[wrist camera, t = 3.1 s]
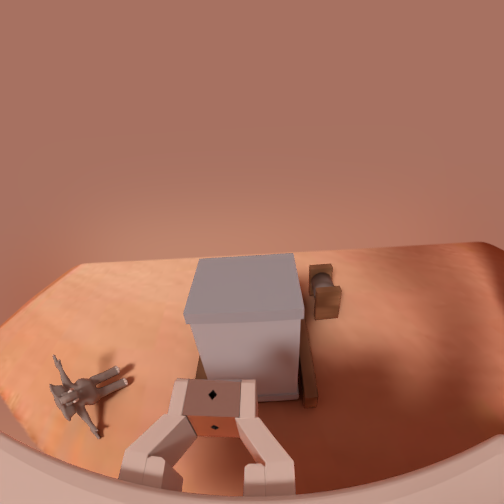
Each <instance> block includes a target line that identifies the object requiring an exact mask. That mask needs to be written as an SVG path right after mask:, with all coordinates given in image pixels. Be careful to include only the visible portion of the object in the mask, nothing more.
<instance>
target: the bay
mask: <svg viewBox="0 0 504 504" xmlns="http://www.w3.org/2000/svg"><path fill="white" fill-rule="evenodd" d="M332 270H333V267H332V265H331V264H320V265H310V266H309V295H314V297H315V307H314V317H315V320H320V319H330V318H338V314H339V306H340V299H341V288H340V286H334V285H333V283H332ZM299 369H300V377H301V386H302V394H303V403H304V408H310V407H316V406H317V401H318V392H317V386H316V380H315V373H314V367H313V361H312V356H311V350H310V344H309V338H308V333H307V327H306V322H305V316H304V319H301V324H300V346H299ZM195 379H200V380H208V378H207V376H206V373H205V370H204V367H203V364H202V361H201V358H200V356H199V361H198V367H197V373H196V378H195Z"/></svg>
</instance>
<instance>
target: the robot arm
mask: <svg viewBox="0 0 504 504" xmlns="http://www.w3.org/2000/svg"><path fill="white" fill-rule="evenodd" d="M197 436H208V437H234V438H240V439H241V440H242V442H243V443H244V445H245V446H246V448H247V450H248V451H249V453H250V454H251V456H252V457H253V459H254V460H255V462H256V463H257V464H248V465H246V466H245V471H244V492H243V496H220V495H206V494H196V493H187V492H182V485H183V478H182V476H181V475H180V474H179V473H177V472H176V471H175V470H174V469H173V468H172V467H173V466H174V465H175V464H176V463H177V462H178V460H179V459H180V458H181V457H182V456H183V454H184V453H185V452H186V451H187V449H188V448H189V447H190V446H191V444H192V443H193V442H194V441H195V440H196V438H197ZM0 504H504V435H503V434H498V435H495V436H493V437H491V438H489V439H487V440H485V441H483V442H481V443H479V444H477V445H475V446H473V447H471V448H469V449H467V450H465V451H463V452H461V453H458V454H456V455H454V456H451V457H449V458H447V459H444V460H442V461H439V462H437V463H434V464H431V465H429V466H426V467H423V468H420V469H417V470H414V471H411V472H408V473H405V474H402V475H398V476H395V477H391V478H388V479H384V480H380V481H376V482H372V483H368V484H363V485H359V486H354V487H348V488H343V489H337V490H331V491H324V492H316V493H308V494H297V495H296V490H295V473H294V461H293V460H292V459H291V457H290V456H289V455H288V454H287V452H286V451H285V450H284V449H283V447H282V446H281V445H280V444H279V442H278V441H277V440H276V439H275V437H274V436H273V435H272V433H271V432H270V431H269V429H268V428H267V427H266V426H265V424H264V423H263V422H262V420H261V419H260V418H259V417H258V397H257V386H256V379H248V380H242V379H233V380H200V379H181V378H177V379H176V381H175V383H174V387H173V392H172V396H171V400H170V405H169V410H168V414H163V415H162V416H161V417H160V418H159V419H158V420H157V421H156V422H155V423H154V424H153V425H152V426H151V427H150V428H148V429H147V430H146V431H145V432H144V433H143V434H142V435H141V436H140V437H139V438H138V439H137V440H136V441H135V442H133V443H132V444H131V445H130V446H129V447H128V448H127V449H126V450H125V453H124V457H123V461H122V465H121V469H120V473H119V478H118V479H116V478H112V477H108V476H105V475H102V474H98V473H95V472H92V471H89V470H86V469H83V468H80V467H77V466H75V465H72V464H69V463H67V462H64V461H62V460H59V459H57V458H54V457H52V456H50V455H47V454H45V453H43V452H41V451H38V450H36V449H34V448H32V447H30V446H28V445H26V444H24V443H22V442H20V441H18V440H16V439H14V438H13V437H11V436H9V435H7V434H5V433H3V432H2V431H0Z"/></svg>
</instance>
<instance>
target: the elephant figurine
mask: <svg viewBox="0 0 504 504" xmlns="http://www.w3.org/2000/svg"><path fill="white" fill-rule="evenodd" d="M53 359H54V362H55V365H56V368H58V369H59V371H60V375H61V380H62V384H63V386H62V385H59V386H54V385H52V384H50V390H51V392H52V394H53V395H54V398H55V399H54V400H55V403H56V405H57V406H58V408H59V409H60V410H61V411H62V413H63V415H64V417H65V418H66V419H67V420H68V421H71V417H72V416H73V415H74V414H75V413H77V414H78V415H79V416H80V417H81V418H82V419H83V420H84V421H85V422H86V423H87V424H88V426H89V427H90V429H91V431H92V433H93V434H94V435H95V436H96V437H97V438H98V439H100V437H99V435H98V433H97V431H99V430H98V429H97V428H96V427H95V425H94V424H93V423H92V421H91V419H90V417H89V415H88V413H87V411H86V409H85V405H93V404H96V403H97V402H98V401H99V399H100V398H102V397H104V396H106V395H108V394H110V393H112V392H114V391H116V390H118V389H121V388H124V387H126V386H127V385H128V381H127V380H126V379H125V378H122V379H120V380H118V381H116V382H114V383H111V384H109V385H107V386H104V387H102V388H99V389H98V388H96V385H97V384H99V383H101V382H103V381H105V380H107V379H109V378H111V377H114V376H116V375H118V374H119V373H120V370H119V368H118V367H117V366H114V367H112V368H110V369H109V370H107V371H105V372H103V373H100V374H98V375H95V376H92V377H91V378H89V379H85V378H81V379H78V380H77V382H76V383H74V384H73V383H72V382H71V381H70V379H69V378H68V377H67V375H66V374H65V372H64V370H63V368H62V365H61V361H60V359H59V360H57V358H56V356H55V355H53Z"/></svg>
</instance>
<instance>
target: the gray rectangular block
mask: <svg viewBox="0 0 504 504" xmlns="http://www.w3.org/2000/svg"><path fill="white" fill-rule="evenodd" d="M183 315H184V318H185V321H186V324H190V326H191V329H192V332H193V335H194V339H195V342H196V345H197V348H198V351H199V354H200V358H201V361H202V364H203V367H204V370H205V373H206V376H207V378H208V380H233V379H242V380H248V379H256V386H257V397H258V402H262V401H281V400H295V399H298V398H299V391H298V382H297V380H298V364H299V346H300V324H301V319H304V304H303V299H302V294H301V289H300V284H299V279H298V274H297V269H296V264H295V260H294V255H293V253H286V254H271V255H255V256H238V257H222V258H206V259H199V263H198V266H197V269H196V272H195V276H194V279H193V282H192V286H191V289H190V292H189V296H188V299H187V303H186V306H185V310H184V313H183Z"/></svg>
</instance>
